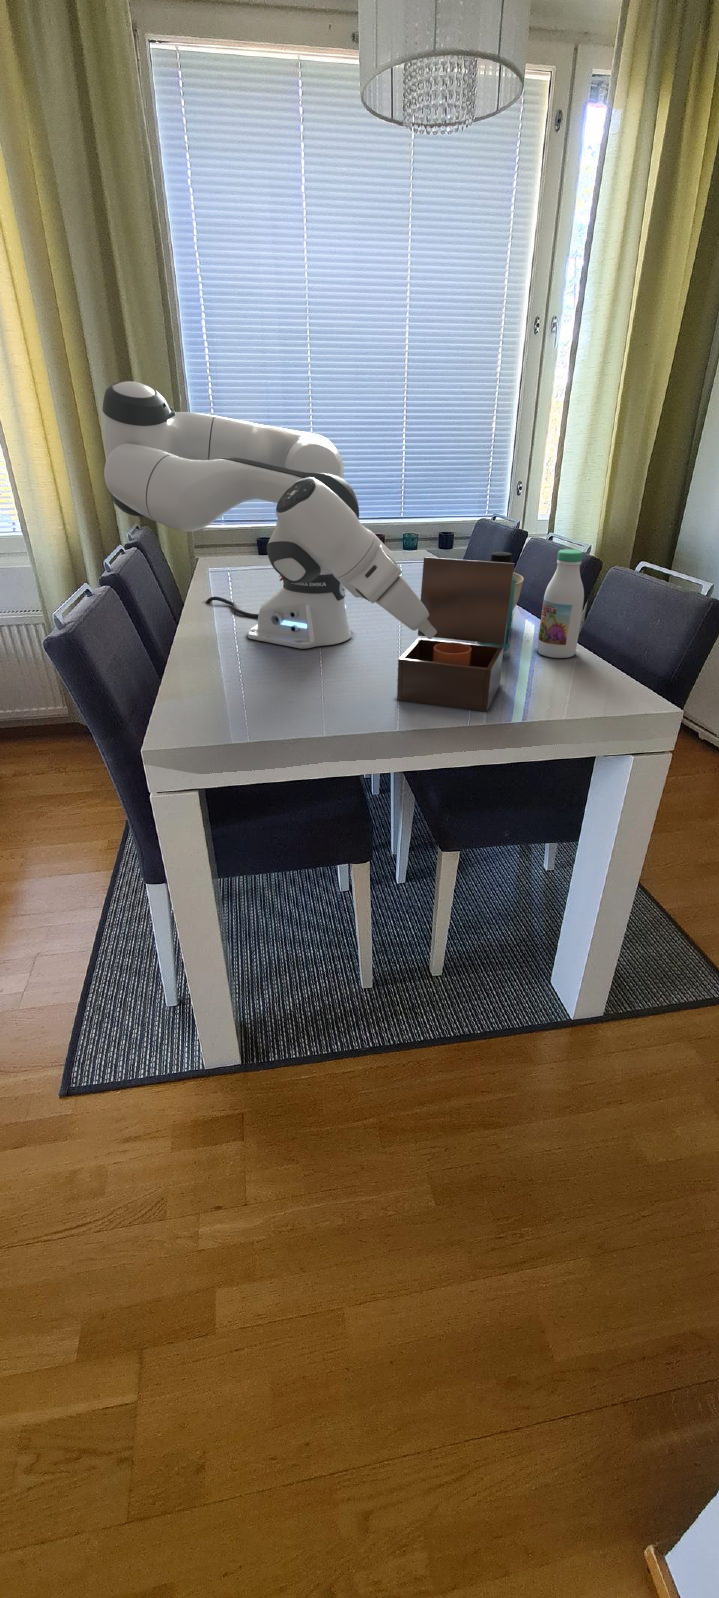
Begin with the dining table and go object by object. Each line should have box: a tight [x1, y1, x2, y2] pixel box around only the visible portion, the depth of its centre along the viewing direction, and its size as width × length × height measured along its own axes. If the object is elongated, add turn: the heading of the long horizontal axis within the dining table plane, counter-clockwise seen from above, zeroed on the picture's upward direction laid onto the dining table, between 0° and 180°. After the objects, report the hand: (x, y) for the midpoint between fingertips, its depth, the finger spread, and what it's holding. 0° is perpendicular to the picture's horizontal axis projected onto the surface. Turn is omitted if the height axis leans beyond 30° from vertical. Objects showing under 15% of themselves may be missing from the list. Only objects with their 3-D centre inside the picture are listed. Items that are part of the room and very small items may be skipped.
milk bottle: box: [536, 548, 585, 659], centre depth 137 cm, size 8×8×20 cm
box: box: [396, 637, 504, 712], centre depth 121 cm, size 13×16×7 cm
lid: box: [417, 556, 515, 644], centre depth 123 cm, size 14×16×5 cm
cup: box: [433, 641, 472, 666], centre depth 120 cm, size 6×6×8 cm
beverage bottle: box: [477, 551, 516, 653], centre depth 135 cm, size 6×7×20 cm
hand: (423, 626), depth 115 cm, fingers open, 8 cm apart
